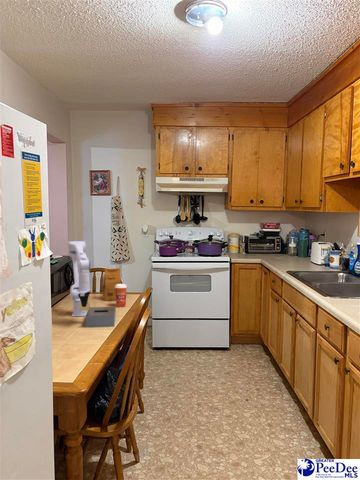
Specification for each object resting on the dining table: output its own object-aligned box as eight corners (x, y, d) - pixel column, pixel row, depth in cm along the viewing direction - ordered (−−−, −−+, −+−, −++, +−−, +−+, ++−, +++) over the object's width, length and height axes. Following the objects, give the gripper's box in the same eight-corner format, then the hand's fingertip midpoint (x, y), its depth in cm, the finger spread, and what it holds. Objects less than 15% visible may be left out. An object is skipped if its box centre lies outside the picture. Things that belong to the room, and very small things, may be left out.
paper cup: (115, 308, 223) (115, 286, 222) (114, 304, 230) (114, 283, 229) (128, 307, 225) (128, 285, 224) (126, 304, 232) (126, 283, 231)
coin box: (89, 317, 203) (89, 307, 202) (115, 316, 205) (115, 306, 204) (85, 327, 186) (85, 316, 186) (114, 326, 188) (114, 315, 188)
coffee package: (102, 298, 247) (101, 267, 245) (119, 297, 251) (119, 266, 249) (103, 301, 238) (103, 269, 236) (121, 300, 241) (121, 268, 239)
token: (80, 309, 194) (80, 302, 193) (89, 309, 194) (89, 302, 194) (79, 310, 192) (79, 303, 191) (89, 310, 192) (88, 303, 192)
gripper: (78, 279, 198) (79, 302, 200) (74, 284, 184) (74, 309, 185) (91, 278, 199) (91, 302, 200) (88, 284, 185) (88, 309, 186)
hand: (84, 305), depth 193 cm, fingers closed on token, 2 cm apart
